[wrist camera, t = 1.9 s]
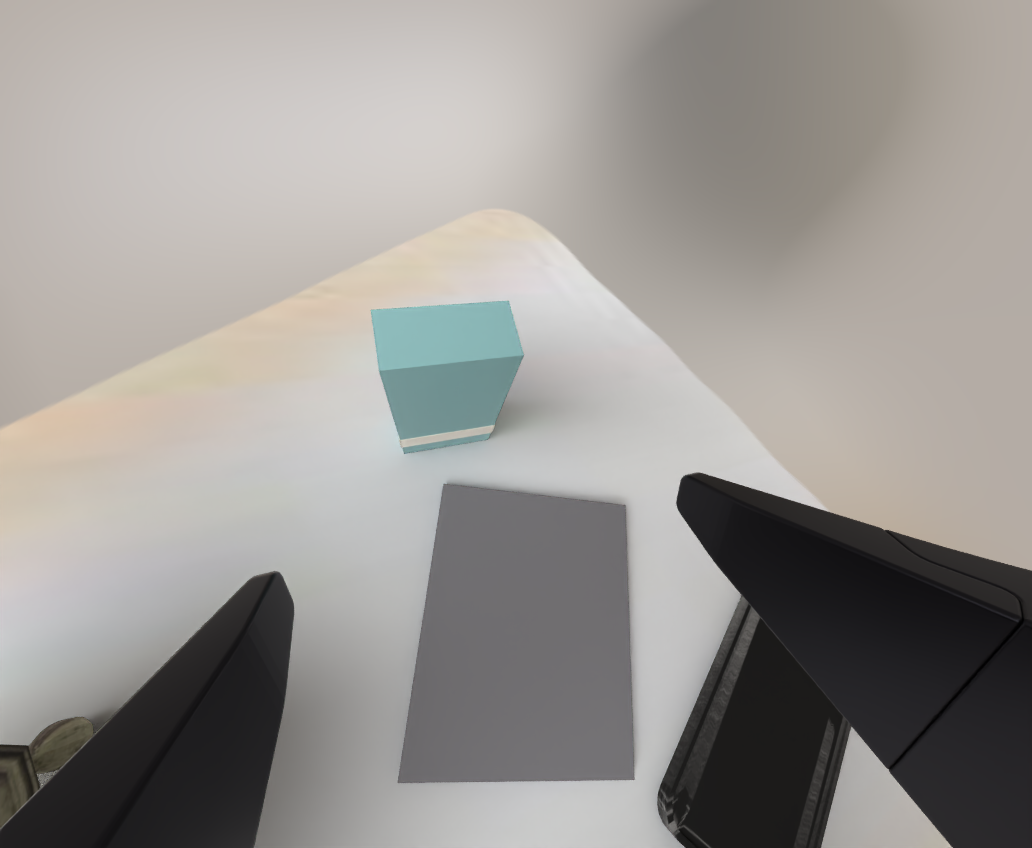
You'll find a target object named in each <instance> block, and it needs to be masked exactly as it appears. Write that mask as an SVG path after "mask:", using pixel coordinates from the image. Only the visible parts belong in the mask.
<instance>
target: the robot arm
mask: <svg viewBox="0 0 1032 848" xmlns="http://www.w3.org/2000/svg"><path fill="white" fill-rule="evenodd" d="M676 504H677V508H678V511H679V512H680V514H681V515H682V517H683V518H684V519H685V521H686V522H687V524H688V525H689V527H690V528H691V529H692V531H693V532H694V534H695V535H696V537H697V538H698V540H699V541H700V542H701V544H702V545H703V547H704V548H705V550H706V551H707V552H708V554H709V555H710V557H711V558H712V559H713V561H714V562H715V563H716V565H717V566H718V567H719V568H720V570H721V571H722V572H723V573H724V574H725V576H726V577H727V578H728V579H729V580H730V582H731V583H732V584H733V585H734V586H735V588H736V589H737V590H738V591H739V592H740V594H741V595H742V596H743V597H744V598H745V600H746V601H747V602H748V603H749V604H750V605H751V607H752V608H753V609H754V610H755V611H756V613H757V614H758V615H759V616H760V617H761V619H762V620H763V621H764V622H765V623H766V625H767V626H768V627H769V628H770V629H771V631H772V632H773V633H774V634H775V635H776V637H777V638H778V639H779V640H780V641H781V643H782V644H783V645H784V646H785V647H786V649H787V650H788V651H789V652H790V653H791V654H792V656H793V657H794V658H795V659H796V660H797V662H798V663H799V664H800V665H801V666H802V668H803V669H804V670H805V671H806V672H807V674H808V675H809V676H810V677H811V678H812V680H813V681H814V682H815V683H816V684H817V686H818V687H819V688H820V689H821V690H822V692H823V693H824V694H825V695H826V696H827V697H828V699H829V700H830V701H831V702H832V703H833V705H834V706H835V707H836V708H837V709H838V711H839V712H840V713H841V714H842V715H843V717H844V718H845V719H846V720H847V721H848V723H849V724H850V725H851V726H852V727H853V729H854V730H855V731H856V732H857V733H858V735H859V736H860V737H861V738H862V739H863V740H864V742H865V743H866V744H867V745H868V746H869V748H870V749H871V750H872V751H873V752H874V754H875V755H876V756H877V757H878V758H879V760H880V761H881V762H882V763H883V764H884V766H885V767H886V768H887V769H889V772H890V773H891V774H892V776H893V777H894V778H895V779H896V780H897V782H898V783H899V784H900V785H901V786H902V788H903V789H904V790H905V791H906V792H907V794H908V795H909V796H910V797H911V798H912V800H913V801H914V802H915V803H916V804H917V806H918V807H919V808H920V809H921V810H922V812H923V813H924V814H925V815H926V816H927V818H928V819H929V820H930V821H931V822H932V824H933V825H934V826H935V827H936V828H937V829H938V831H939V832H940V833H941V834H942V835H943V837H944V838H945V839H946V840H947V841H948V843H949V844H950V845H951V846H952V847H953V848H1032V571H1030V570H1027V569H1023V568H1019V567H1015V566H1012V565H1008V564H1004V563H1001V562H996V561H993V560H989V559H985V558H982V557H978V556H974V555H971V554H968V553H964V552H960V551H957V550H953V549H950V548H946V547H942V546H939V545H936V544H932V543H929V542H926V541H922V540H919V539H915V538H912V537H909V536H906V535H902V534H899V533H896V532H893V531H889V530H883V529H882V528H879V527H876V526H872V525H869V524H866V523H863V522H860V521H856V520H853V519H850V518H847V517H843V516H840V515H836V514H834V513H830V512H827V511H824V510H820V509H817V508H814V507H811V506H807V505H804V504H801V503H798V502H794V501H791V500H788V499H785V498H781V497H778V496H775V495H772V494H768V493H765V492H762V491H758V490H755V489H752V488H749V487H745V486H742V485H739V484H736V483H732V482H729V481H726V480H723V479H719V478H716V477H713V476H709V475H706V474H703V473H692V474H688V475H685V476H683V478H682V479H681V482H680V487H679V491H678V496H677V501H676ZM293 620H294V603H293V600H292V597H291V595H290V593H289V590H288V588H287V586H286V583H285V581H284V579H283V576H282V575H281V574H280V573H279V572H277V571H273V572H269V573H265V574H261V575H256V576H254V577H252V578H251V579H249V580H248V581H247V582H246V583H245V584H244V585H243V586H242V587H241V588H240V589H239V590H238V591H237V592H236V593H235V594H234V595H233V596H232V597H231V598H230V599H229V600H228V601H227V602H226V603H225V604H224V605H223V606H222V607H221V608H220V609H219V610H218V611H217V612H216V613H215V614H214V615H213V616H212V617H211V618H210V619H209V620H208V621H207V622H206V623H205V624H204V625H203V626H202V627H201V628H200V629H199V630H198V631H197V632H196V633H195V634H194V635H193V636H192V637H191V638H190V639H189V640H188V641H187V642H186V643H185V644H184V645H183V646H182V647H181V648H180V649H179V650H178V651H177V652H176V653H175V654H174V655H173V656H172V657H171V658H170V659H169V660H168V661H167V662H166V663H165V664H164V665H163V666H162V667H161V668H160V669H159V670H158V671H157V672H156V673H155V674H154V675H153V676H152V677H151V678H150V679H149V680H148V681H147V682H146V683H145V684H144V685H143V686H142V687H141V688H140V689H139V690H138V691H137V692H136V693H135V694H134V695H133V696H132V697H131V698H130V699H129V700H128V701H127V702H126V703H125V704H124V705H123V706H122V707H121V708H120V709H119V710H118V711H117V712H116V713H115V714H114V715H113V716H112V717H111V718H110V719H109V720H108V721H107V722H106V723H105V724H104V725H103V726H102V727H101V728H100V729H99V730H98V731H97V732H96V733H95V734H94V735H93V736H92V737H91V738H90V739H89V740H88V741H87V742H86V743H85V744H84V745H83V746H82V747H81V748H80V749H79V750H78V751H77V752H76V753H75V754H74V755H73V756H72V757H71V758H70V759H69V760H68V761H67V762H66V763H65V764H64V765H63V766H62V767H61V768H60V769H59V770H58V771H57V772H56V773H55V774H54V775H53V776H52V777H51V778H50V779H49V780H48V781H47V782H46V783H45V784H44V785H43V786H42V787H41V788H40V789H39V790H38V791H37V792H36V793H35V794H34V795H33V796H32V797H31V798H30V799H29V800H28V801H27V802H26V803H25V804H24V805H23V806H22V807H21V808H20V809H19V810H18V811H17V812H16V813H15V814H14V815H13V816H12V817H11V818H10V819H9V820H8V821H7V822H6V823H5V824H4V825H3V826H2V827H1V828H0V848H254V844H255V840H256V835H257V830H258V826H259V821H260V816H261V812H262V807H263V802H264V798H265V793H266V788H267V784H268V779H269V774H270V770H271V765H272V760H273V756H274V751H275V746H276V742H277V737H278V732H279V728H280V723H281V718H282V713H283V708H284V702H285V695H286V687H287V678H288V668H289V659H290V649H291V639H292V629H293Z"/></svg>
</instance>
